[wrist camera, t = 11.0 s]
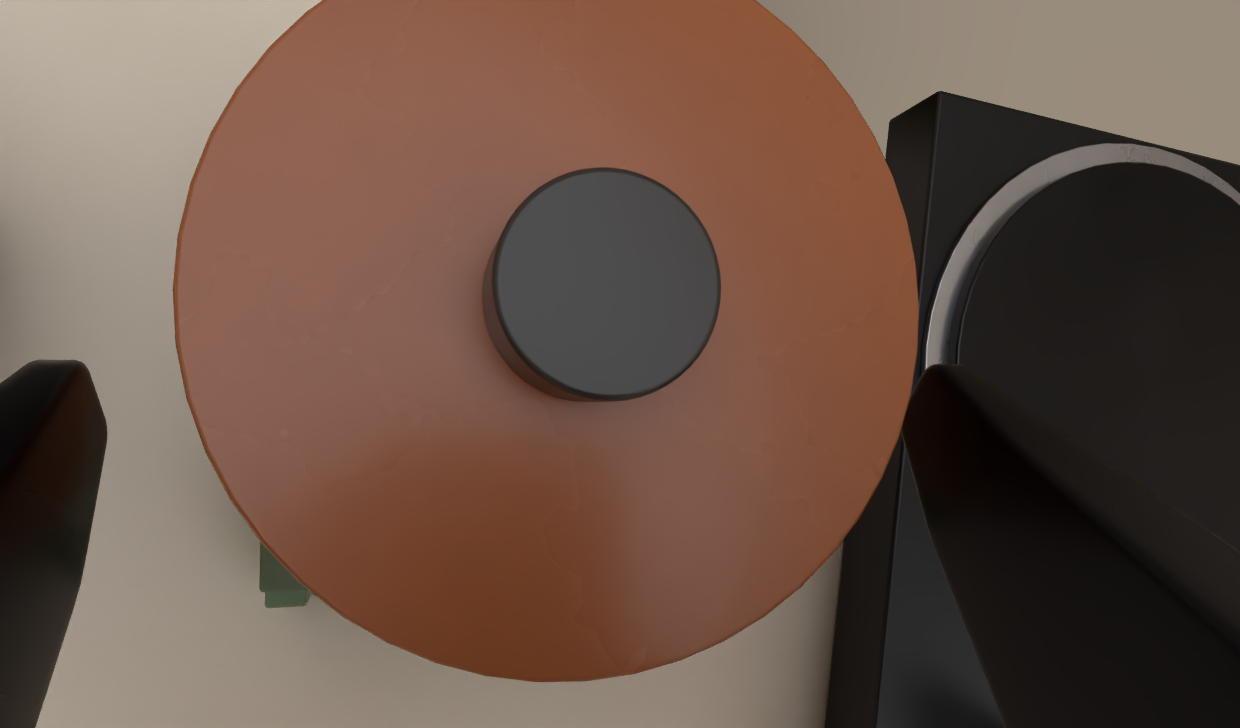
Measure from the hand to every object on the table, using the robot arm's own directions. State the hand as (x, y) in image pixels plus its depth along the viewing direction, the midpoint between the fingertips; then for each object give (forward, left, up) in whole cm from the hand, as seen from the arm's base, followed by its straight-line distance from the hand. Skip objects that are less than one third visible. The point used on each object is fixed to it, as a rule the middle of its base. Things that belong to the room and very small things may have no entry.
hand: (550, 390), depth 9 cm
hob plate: (+2, -14, -6) cm, 16 cm away
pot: (+1, 0, -6) cm, 7 cm away
